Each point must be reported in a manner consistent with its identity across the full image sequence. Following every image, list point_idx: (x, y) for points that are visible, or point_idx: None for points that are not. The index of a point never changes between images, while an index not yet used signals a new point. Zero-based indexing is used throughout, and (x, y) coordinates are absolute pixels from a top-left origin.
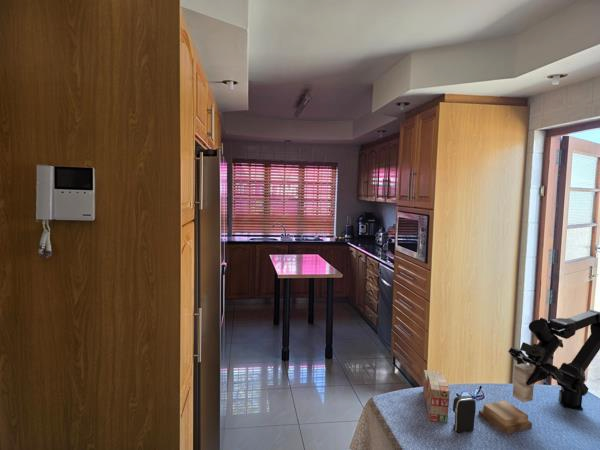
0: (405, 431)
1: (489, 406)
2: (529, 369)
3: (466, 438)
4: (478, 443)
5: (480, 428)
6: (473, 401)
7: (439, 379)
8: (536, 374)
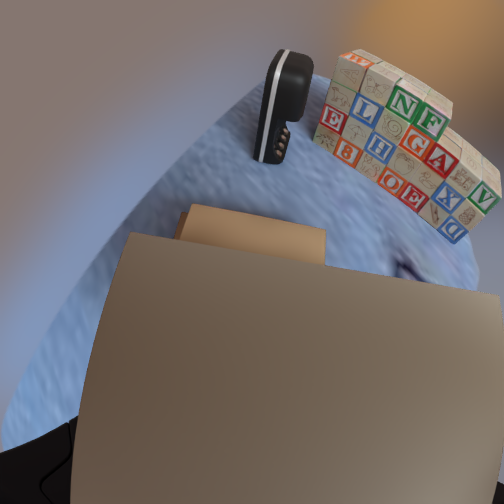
0: (313, 83)
1: (302, 236)
2: (84, 439)
3: (238, 128)
4: (207, 134)
5: (252, 185)
6: (269, 67)
7: (416, 88)
8: (4, 453)
